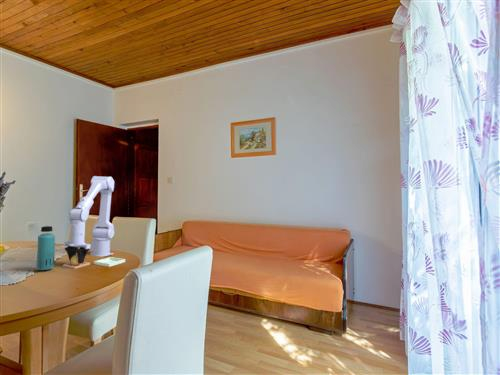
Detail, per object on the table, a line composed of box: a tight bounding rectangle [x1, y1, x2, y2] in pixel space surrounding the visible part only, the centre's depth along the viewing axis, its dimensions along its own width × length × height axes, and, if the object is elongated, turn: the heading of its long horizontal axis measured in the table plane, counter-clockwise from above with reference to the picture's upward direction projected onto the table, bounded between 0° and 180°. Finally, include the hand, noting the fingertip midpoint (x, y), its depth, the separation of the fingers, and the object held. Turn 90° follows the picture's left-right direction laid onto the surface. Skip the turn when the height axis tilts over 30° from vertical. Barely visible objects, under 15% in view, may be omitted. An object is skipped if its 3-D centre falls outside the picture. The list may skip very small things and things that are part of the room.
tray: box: [93, 256, 126, 268], centre depth 136 cm, size 10×10×2 cm
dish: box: [61, 261, 91, 270], centre depth 130 cm, size 8×8×1 cm
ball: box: [69, 254, 81, 266], centre depth 130 cm, size 5×5×5 cm
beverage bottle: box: [35, 225, 56, 271], centre depth 121 cm, size 6×7×20 cm
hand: (76, 262), depth 130 cm, fingers closed on ball, 5 cm apart
